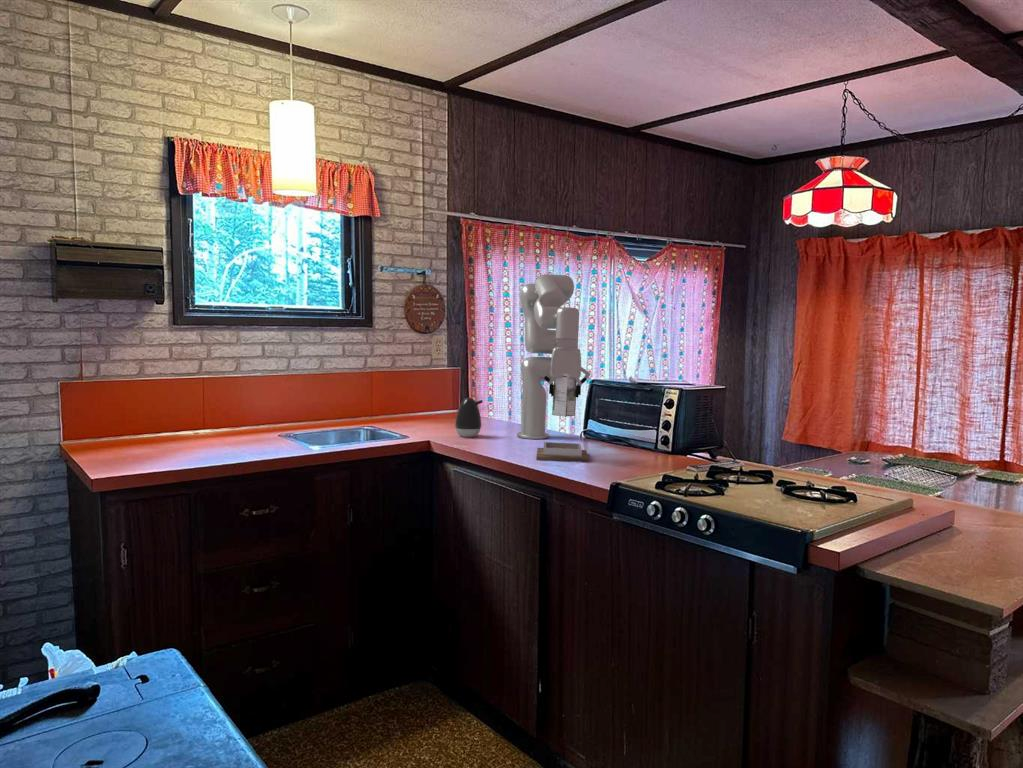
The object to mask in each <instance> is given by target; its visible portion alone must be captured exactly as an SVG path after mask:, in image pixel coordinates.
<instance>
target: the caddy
mask: <svg viewBox="0 0 1023 768" xmlns="http://www.w3.org/2000/svg"><path fill="white" fill-rule="evenodd" d="M535 457H536V459H535V460H536V461H548V460H555V461H554V462H570V461H582V462H581V463H589V455H588V452H587V449H582V445H581V443H576V442H575V443H574V442H573V443H572V442H555V441H554V442H551V441H549V442H548V441H544V442H543V447H537V450H536V456H535Z"/></svg>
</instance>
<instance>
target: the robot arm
mask: <svg viewBox="0 0 1023 768" xmlns="http://www.w3.org/2000/svg"><path fill="white" fill-rule="evenodd" d="M574 291H575V284H574V281H573V279H572V277H570V276H569V275H566V274H551V273H548V274H546V273H545V274H542V275H539V276H538V277H537V278H536V279H535V282H534V283H526V284H524V285H523V286H522V287H521V289H520V292H519V301H520V305H521V309H522V313H523V317H524V347H525V351H527V352H528V353H531V354H540V355H541V354H544V355H547V354H548V355H549V354H550V355H551V357H548V356H529V357H526V358H524V359H523V360H522V361H521V364H520V370H521V381H522V382H521V383H522V384H521V385H522V389H521V390H522V393H521V397H522V399H521V400H522V401H521V422H520V423H521V424H520V425H521V426H520V432H519V431H518V432H517V433H516V436H517V437H518V438H522V439H529V440H545V439H548V438H549V437H550V435H549V434H548V433H546V422H547V421H546V420H547V418H546V417H547V416H546V415H547V390H546V389H545V387H544V386H543V384H542V382H547V383H548V387H549V388H548V394H550V397H553V387H554V380H555V379H556V378H562V377H563V373H564V374H569V375H570V378H571V379H575V380H576V381H577V388H576V398H579V396H581V395H582V394H581V393H582V391H581V390H582V389H581V388H582V385H583V384H584V383H585V382H586V381H587V380H588V379H589V377H590V376H591V373H590V372H589V371H588V370H587V369H585V368H584V367H583V366H582V353H581V349H580V348H579V325H580V311H579V309H578V308H576V307H566V306H565V307H563V306H564V305H565V304H567V302H568V301H569V300H570V299H571V298H572V296H573V294H574ZM582 373H583V374H584V376H583V377H582V378H581V379H580V377H581V375H582Z"/></svg>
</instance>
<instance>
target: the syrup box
mask: <svg viewBox="0 0 1023 768" xmlns="http://www.w3.org/2000/svg"><path fill="white" fill-rule="evenodd" d="M553 384H554V387H553V396H552V407H551V408H552V410H551V415H552V416H556V417H574V416H576V408H577V407H576V402H577V397H576V388H577V381H576V380H575V379H571V378H570V375H569V374H564V373H563V377H562V378H556V379H555V380H554V381H553Z"/></svg>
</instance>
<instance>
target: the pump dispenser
mask: <svg viewBox="0 0 1023 768" xmlns="http://www.w3.org/2000/svg"><path fill="white" fill-rule="evenodd" d="M483 402H484V401H483V400H482V399H481V400H477V401H476V400H475V399H474V398H473V397H465V398H464V399H462V402H461V403H460V405H459V408H458V409H457V413H456V417H455V423H454V428H455V430H456V433H457V435H459V436H460V437H462V438H475V437H477V436H478V435H479V434H480V431H481V428H482V417H481V412H480V409H479V406H478V405H480V404H483Z"/></svg>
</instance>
